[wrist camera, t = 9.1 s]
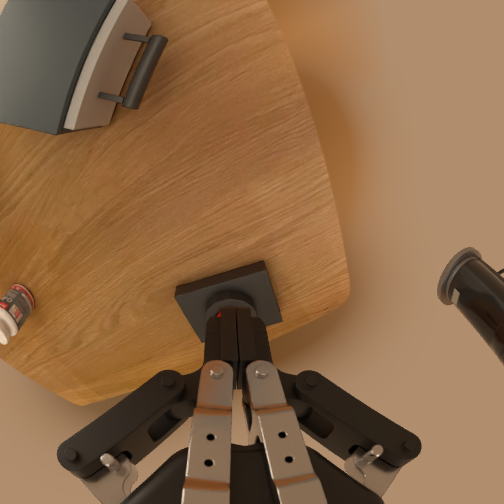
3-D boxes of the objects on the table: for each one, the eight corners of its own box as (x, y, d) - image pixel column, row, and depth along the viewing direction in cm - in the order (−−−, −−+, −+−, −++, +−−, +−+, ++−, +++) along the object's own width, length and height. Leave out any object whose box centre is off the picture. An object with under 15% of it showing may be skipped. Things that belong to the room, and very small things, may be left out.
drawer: (188, 30, 20) (176, 3, 13) (143, 134, 25) (115, 141, 18) (56, 16, 15) (21, 3, 8) (22, 106, 20) (-19, 111, 13)
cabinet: (147, 19, 19) (118, -13, 10) (101, 127, 24) (56, 135, 16) (49, 15, 15) (7, -1, 6) (15, 108, 20) (-34, 116, 12)
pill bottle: (21, 278, 32) (-9, 315, 23) (40, 304, 34) (14, 344, 26) (8, 288, 32) (-19, 323, 23) (26, 312, 35) (2, 349, 26)
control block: (263, 260, 34) (268, 277, 31) (280, 311, 38) (285, 330, 35) (176, 286, 35) (172, 305, 31) (202, 332, 39) (201, 352, 36)
